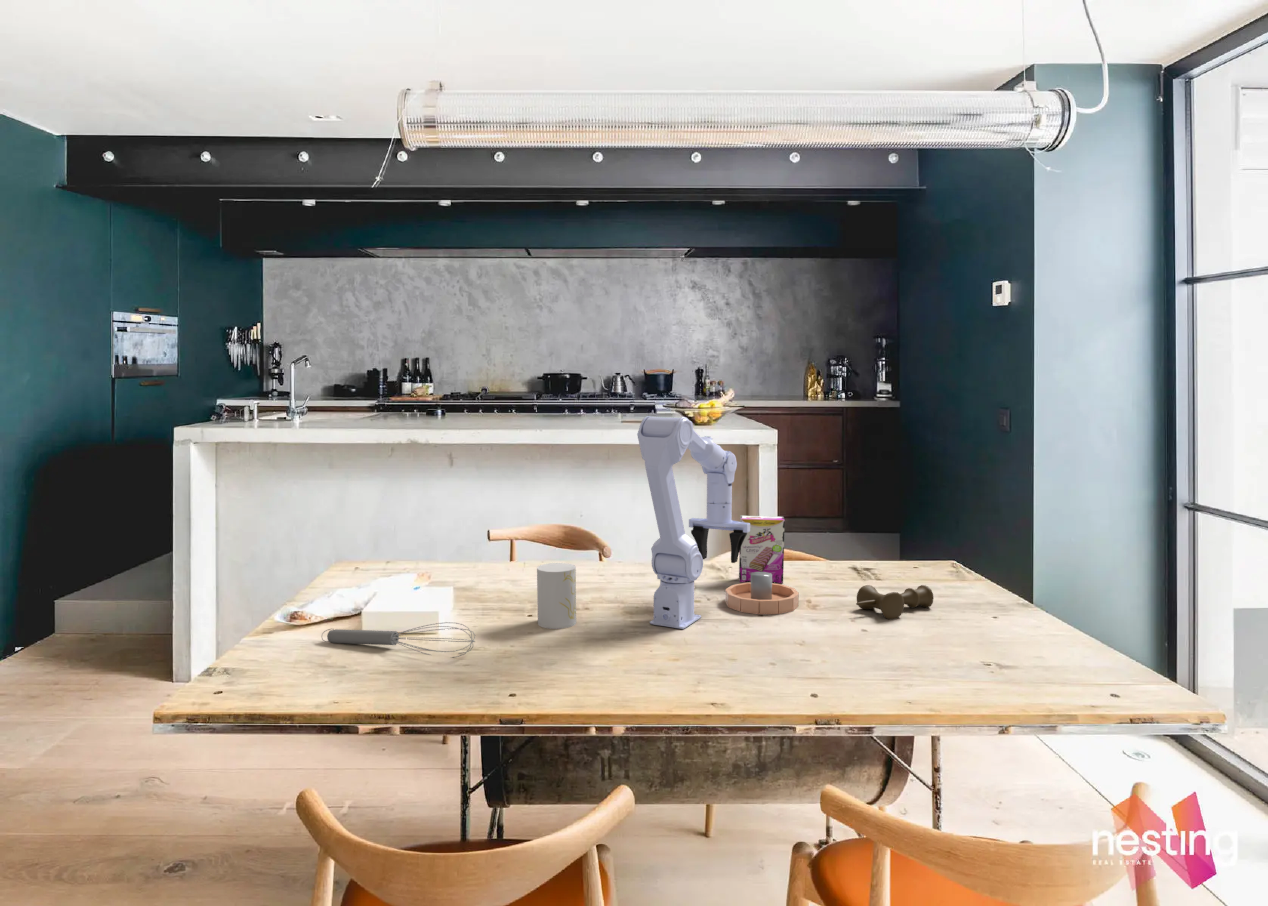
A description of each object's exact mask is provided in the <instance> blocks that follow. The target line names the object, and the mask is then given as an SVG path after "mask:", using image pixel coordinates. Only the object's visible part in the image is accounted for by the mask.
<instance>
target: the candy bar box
mask: <svg viewBox="0 0 1268 906" xmlns="http://www.w3.org/2000/svg"><path fill="white" fill-rule="evenodd" d="M739 522H745V523H750V532H748V533H747V535H746V537H745V539H744V541H743V543H742V545H741V548H740V551H739V555H738V581H739V583H748V582H751V573H753V572H768V573H771V574H772V583H775V584H784V559H785V558H784V557H785V526H786V525H785V524H786V523H785V522H786V520H785V517H784V516H771V515H770V516H766V515H740V517H739Z"/></svg>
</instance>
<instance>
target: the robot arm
mask: <svg viewBox="0 0 1268 906" xmlns="http://www.w3.org/2000/svg"><path fill="white" fill-rule="evenodd" d="M636 435H637V439H638V444H639V448H640V454H641V458H642V460H643V461H644V467H645V472H646V477H647V481H648V486H649V490H650V496H651V499H652V500H651V501H652V505H653V510H654V514H655V519H656V520H655V521H656V524H657V525H656V526H657V528H658V534H659V538H657V539H656V540H655V542H654V543H653V544H652V547H651V568H652V570H653V572H654V574H655V575H657V576H656V578H657V580H659V583H660V584H659V587H658V588H657V589H656V590H655V591H654V594H653V619H652V620H649V624H650V625H655V626H662V627H666V628H667V627H668V628H675V629H681V630H684V629H686V628H687V627H689V626H691V625H692V624H693V623H695V622H696V621H698V620H699V619H701V618H702V615H701V614H695V581H697V580H698V578H699V577H700V576H701V574H702V573H703V568H704V560H705V559H707V558H708V538H709V530H710V529H711V530H721V531H730V533H729V535H728V536H729V540H730V563H732V564H735V563H737V562H738V561H739V551H740V548H741V545H742V543H743V541H744V539H745V537H746V535H747V533H748V532H750V523H745V522H740V520H733V518H732V515H733V514H732V512H733V511H732V510H733V509H732V505H733V504H732V503H733V495H732V494H733V483H734V482H735V473H736V470H737V465H738V462H737V457H736V455H735V454H734V453H733V452H732V451H731V450H724V449H723V448H722V446H721V445H719V444H717V443H716V442H714V441H713V438H712V437H711V436H707V435H706V436H705V435H704V436H700V435H699V434H698V433H697V432H696V430H695V429H694V424H693V421H691V420H690V419H689V418H688V417H686V416H681V417H670V416H668V417H667V416H666V417H665V416H664V417H663V416H652V415H647V416H644V417H643V418H642V420H641V422H640V425H639V428H638V431H637V434H636ZM687 450H689V451H690V452H689V453H690V456H691V457H692V459H693V460H695V462H697V463H698V464H700V466H701V468H702V472H703V473H704V475H706V518H699V517H698V518H696V517H691V518H689V519H688V528H692V529H691V530H690V533H691V536H692V537H693V538H692V537H690V536H689V535H687V534H686V530H685V526H684V520H683V516H682V511H681V506H680V501H679V495H678V490H677V486H676V485H677V484H676V481H675V476H674V469H673V467H674V465H676V464H678V463H679V462H681V461H682V458H683V456H684V455H685V453H686V451H687ZM731 531H732V532H731ZM693 539H694V540H693Z"/></svg>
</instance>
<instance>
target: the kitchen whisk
mask: <svg viewBox="0 0 1268 906" xmlns="http://www.w3.org/2000/svg"><path fill="white" fill-rule="evenodd" d="M439 624H440V625H439ZM441 624H443V622H438V623H430V624H426V625H421V626H418V627H413V628H410V629H407V630H403V631H401V632H398V631H397V630H374V629H373V630H370V629H369V630H368V629H366V630H364V629H340V628H339V629H338V628H336V629H334V628H329V629H326V630H324V631H323V632H322V633H321V636H323V634H325V632H327V631H328V632H327V638H326V639H327V641H326V640H324V638H323V637H321V640H322V641H323V642H325V643H327V642H330V643H333V644H349V645H350V644H351V645H352V644H353V645H375V646H376V645H378V646H380V645H381V646H382V645H383V646H396V645H400V646H401V647H405V648H407V649H409V650H412V651H415V652H418V653H421V654H424V655H429V656H431V654H430V653H425V652H423V651H429V652H437V653H439V652H440V653H450V652H453V653H454V652H458V651H462V652H461V654H460V655H457V656H451V658H459V657H461V656H463V655H466V654H467V653H468V652H471V651H472V649H473V648H474V646H472V645H474V643H475V642H476V641H475V638H476V634H475V632H474V631H472V630H471V629H470V628H469V627H468V626H466V624H465V625H464V624H463V623H458V622H455V624H456V625H460V626H464V627H465V628H459V627H456V626H455V627H454V626H449V625H447V626H445V625H443V626H442V625H441ZM444 624H453V622H447V621H445V622H444ZM433 625H438V626H433ZM432 626H433V628H437V629H435V631H443V630H444V628H449V630H460V631H463V632H464V633H466V634H467V635H468V636H469V638H470V639H467V640H466V639H465V638H464V639H463V638H454V640H451V638H450V637H449V638H446V637H445V638H444V637H426V640H428V641H433V642H434V641H435V642H444V640H449V642H453V643H454V642H455V643H456V642H457V643H459V642H460V643H469V644H468V645H467V646H465V647H463V648H460V649H456V650H448V651H447V650H433V649H429V648H425V647H422V646H421V647H420V646H416V645H412V644H409V643H405V642H403V641H399V640H405V637H401V636H404V635H405V636H406V635H410V634H416V633H418V634H419V633H423V632H432V631H434V629H429V628H432ZM466 628H467V629H466ZM421 629H429V630H422V631H421ZM417 630H420V631H417ZM412 631H414V632H412ZM466 631H468V632H469V633H470V634H469V633H468V632H466ZM407 632H409V633H407ZM473 636H474V637H473ZM408 640H409V641H410V640H411V641H412V640H414V641H424V638H408ZM410 647H411V648H410ZM468 647H469V648H468ZM415 648H416V649H417V650H416V649H415ZM467 648H468V649H467ZM419 649H420V650H419ZM464 649H467V650H466V651H465V652H464V651H463V650H464ZM421 650H423V651H421Z"/></svg>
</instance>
